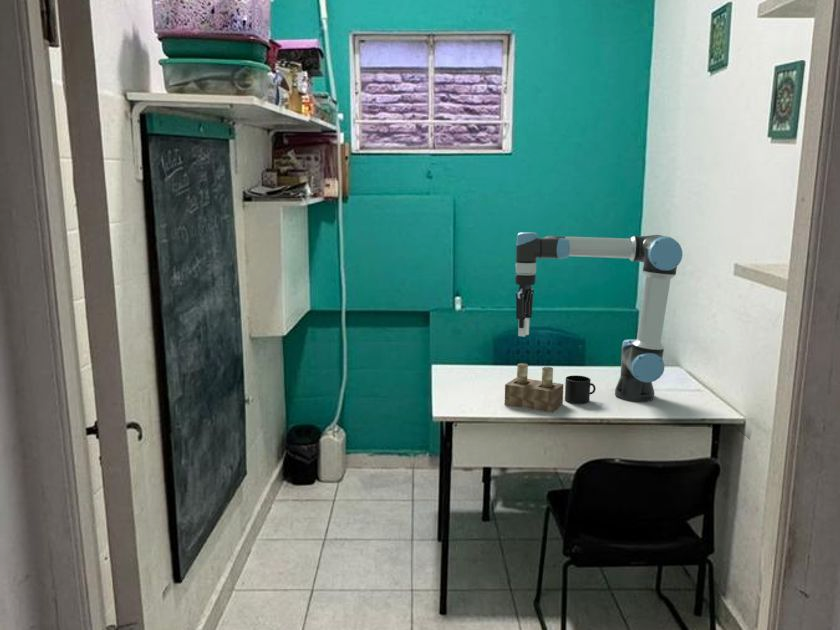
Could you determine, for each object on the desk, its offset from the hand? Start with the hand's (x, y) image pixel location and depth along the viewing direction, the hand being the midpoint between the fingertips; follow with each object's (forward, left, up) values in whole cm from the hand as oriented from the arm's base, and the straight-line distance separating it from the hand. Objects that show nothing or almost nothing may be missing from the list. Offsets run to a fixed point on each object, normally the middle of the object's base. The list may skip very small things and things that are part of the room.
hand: (523, 335), depth 264 cm
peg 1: (0, 0, -20) cm, 20 cm away
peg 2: (-10, 0, -20) cm, 22 cm away
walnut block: (-5, 0, -27) cm, 27 cm away
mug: (-19, -14, -27) cm, 36 cm away
